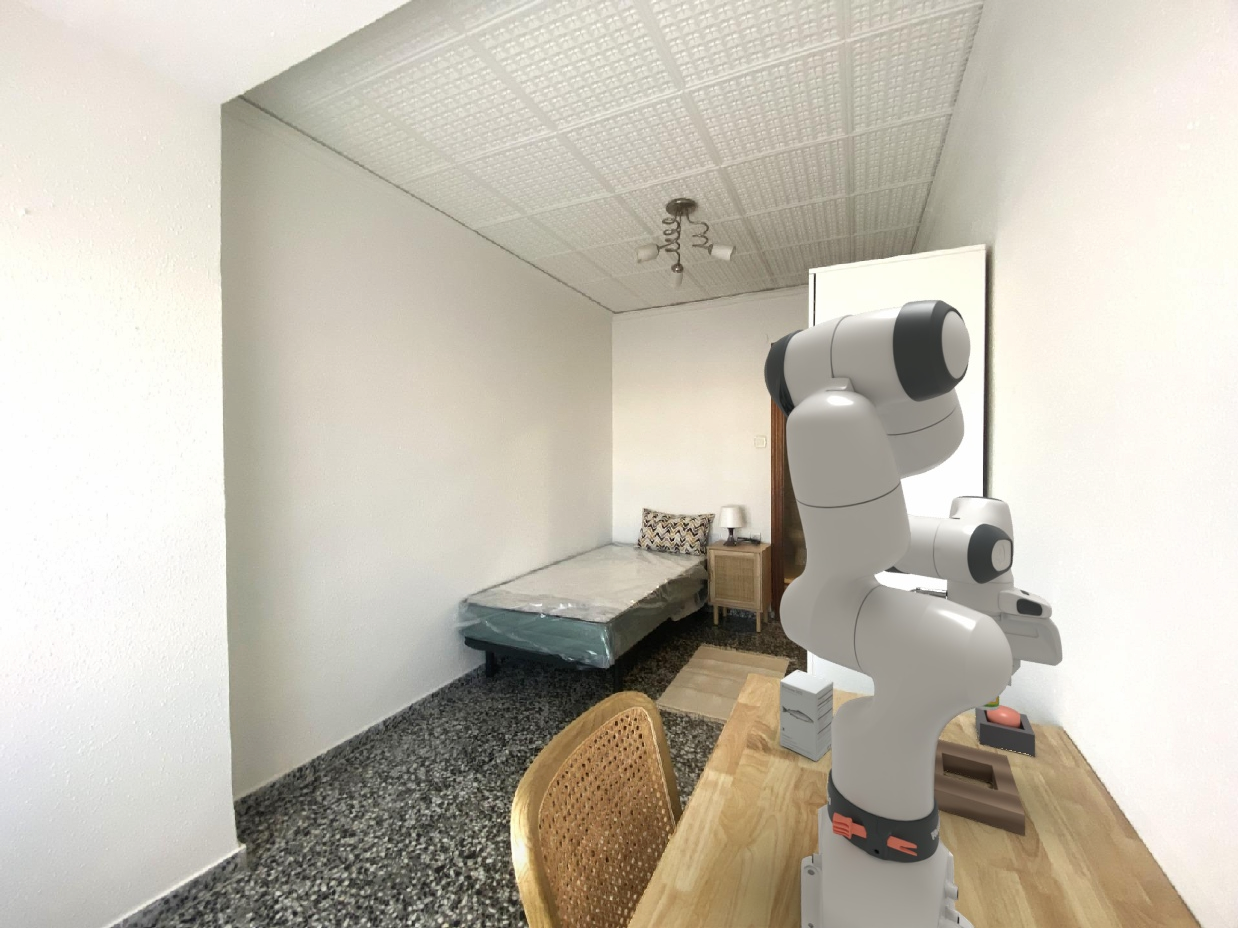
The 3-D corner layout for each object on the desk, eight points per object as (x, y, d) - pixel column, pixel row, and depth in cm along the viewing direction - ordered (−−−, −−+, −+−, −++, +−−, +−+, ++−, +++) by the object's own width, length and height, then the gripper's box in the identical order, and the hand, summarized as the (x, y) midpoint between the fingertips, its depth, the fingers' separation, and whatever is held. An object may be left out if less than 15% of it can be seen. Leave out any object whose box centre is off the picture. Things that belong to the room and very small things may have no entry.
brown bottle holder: (1025, 835, 69) (1025, 815, 69) (926, 805, 75) (926, 786, 75) (1007, 772, 83) (1006, 755, 83) (924, 751, 89) (924, 735, 89)
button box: (1035, 757, 87) (1034, 735, 87) (980, 743, 91) (979, 722, 91) (1026, 735, 94) (1026, 714, 94) (975, 723, 98) (975, 704, 98)
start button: (1022, 736, 89) (1022, 720, 89) (988, 729, 92) (988, 713, 91) (1017, 723, 93) (1017, 708, 93) (985, 716, 96) (985, 701, 96)
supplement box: (778, 745, 92) (778, 679, 91) (797, 730, 96) (797, 667, 96) (816, 763, 86) (815, 693, 86) (834, 746, 91) (834, 680, 91)
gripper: (905, 589, 82) (904, 670, 82) (1065, 609, 71) (1065, 702, 71) (906, 582, 87) (905, 658, 87) (1055, 599, 77) (1055, 686, 77)
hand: (978, 678), depth 79 cm, fingers closed on supplement bottle, 5 cm apart
